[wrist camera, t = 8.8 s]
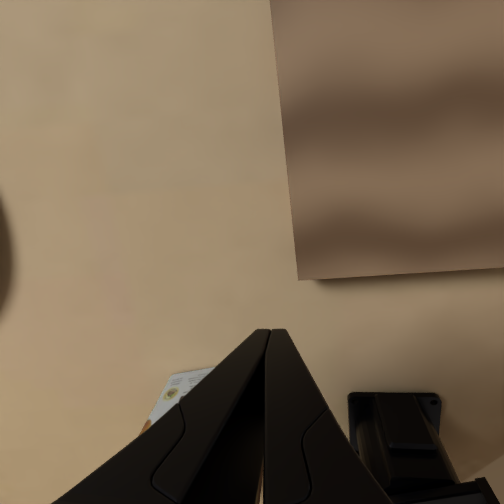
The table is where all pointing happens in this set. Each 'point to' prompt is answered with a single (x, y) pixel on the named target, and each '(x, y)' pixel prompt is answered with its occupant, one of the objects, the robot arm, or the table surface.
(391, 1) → the brown flat block
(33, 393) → the table surface
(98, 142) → the table surface
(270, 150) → the table surface
